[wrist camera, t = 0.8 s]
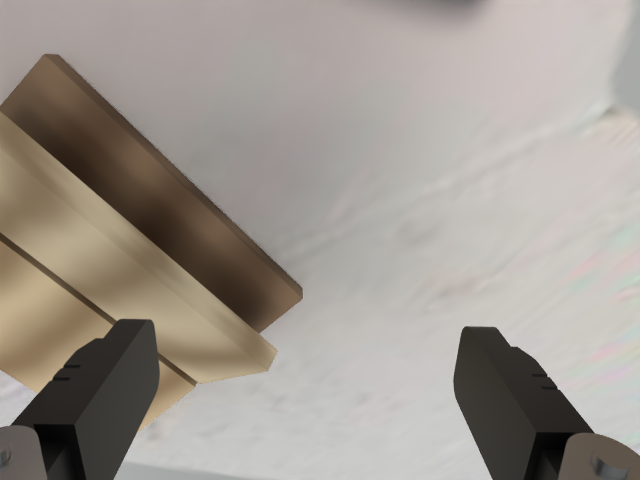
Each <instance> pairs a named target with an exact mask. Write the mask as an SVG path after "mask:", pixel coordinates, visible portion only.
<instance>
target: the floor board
mask: <svg viewBox="0 0 640 480" xmlns="http://www.w3.org/2000/svg"><path fill="white" fill-rule="evenodd" d="M0 111H1V112H2V113H3V114H4V115H5V116H7V117H8V118H9V119H10V120H11V121H12V122H14V123H15V124H16V125H17V126H18V127H19V128H21V129H22V130H23V131H24V132H25V133H26V134H27V135H29V136H30V137H31V138H32V139H33V140H34V141H36V142H37V143H38V144H39V145H40V146H41V147H43V148H44V149H45V150H46V151H47V152H48V153H49V154H51V155H52V156H53V157H54V158H55V159H56V160H58V161H59V162H60V163H61V164H62V165H63V166H65V167H66V168H67V169H68V170H69V171H70V172H72V173H73V174H74V175H75V176H76V177H77V178H78V179H80V180H81V181H82V182H83V183H84V184H85V185H87V186H88V187H89V188H90V189H91V190H92V191H94V192H95V193H96V194H97V195H98V196H99V197H101V198H102V199H103V200H104V201H105V202H106V203H107V204H109V205H110V206H111V207H112V208H113V209H114V210H116V211H117V212H118V213H119V214H120V215H121V216H123V217H124V218H125V219H126V220H127V221H128V222H130V223H131V224H132V225H133V226H134V227H135V228H136V229H138V230H139V231H140V232H141V233H142V234H143V235H145V236H146V237H147V238H148V239H149V240H150V241H152V242H153V243H154V244H155V245H156V246H157V247H158V248H160V249H161V250H162V251H163V252H164V253H165V254H167V255H168V256H169V257H170V258H171V259H172V260H174V261H175V262H176V263H177V264H178V265H179V266H181V267H182V268H183V269H184V270H185V271H186V272H187V273H189V274H190V275H191V276H192V277H193V278H194V279H196V280H197V281H198V282H199V283H200V284H201V285H203V286H204V287H205V288H206V289H207V290H208V291H210V292H211V293H212V294H213V295H214V296H215V297H216V298H218V299H219V300H220V301H221V302H222V303H223V304H225V305H226V306H227V307H228V308H229V309H230V310H232V311H233V312H234V313H235V314H236V315H237V316H239V317H240V318H241V319H242V320H243V321H244V322H245V323H247V324H248V325H249V326H250V327H251V328H252V329H254V330H255V331H256V332H257V333H258V334H259V333H260V332H261V331H263V330H264V329H265V328H266V327H268V326H269V325H270V324H271V323H273V322H274V321H275V320H276V319H278V318H279V317H280V316H282V315H283V314H284V313H285V312H287V311H288V310H289V309H290V308H292V307H293V306H294V305H295V304H297V303H298V302H299V301H300V300H302V299H303V293H302V288H301V287H300V286H299V285H298V284H297V283H296V282H295V281H294V280H293V279H292V278H291V277H290V276H289V275H288V274H287V273H286V272H284V271H283V270H282V269H281V268H280V267H279V266H278V265H277V264H276V263H275V262H274V261H273V260H272V259H271V258H270V257H269V256H268V255H267V254H266V253H265V252H264V251H263V250H261V249H260V248H259V247H258V246H257V245H256V244H255V243H254V242H253V241H252V240H251V239H250V238H249V237H248V236H247V235H246V234H245V233H244V232H243V231H242V230H241V229H240V228H239V227H237V226H236V225H235V224H234V223H233V222H232V221H231V220H230V219H229V218H228V217H227V216H226V215H225V214H224V213H223V212H222V211H221V210H220V209H219V208H218V207H217V206H216V205H214V204H213V203H212V202H211V201H210V200H209V199H208V198H207V197H206V196H205V195H204V194H203V193H202V192H201V191H200V190H199V189H198V188H197V187H196V186H195V185H194V184H193V183H192V182H190V181H189V180H188V179H187V178H186V177H185V176H184V175H183V174H182V173H181V172H180V171H179V170H178V169H177V168H176V167H175V166H174V165H173V164H172V163H171V162H170V161H169V160H167V159H166V158H165V157H164V156H163V155H162V154H161V153H160V152H159V151H158V150H157V149H156V148H155V147H154V146H153V145H152V144H151V143H150V142H149V141H148V140H147V139H146V138H144V137H143V136H142V135H141V134H140V133H139V132H138V131H137V130H136V129H135V128H134V127H133V126H132V125H131V124H130V123H129V122H128V121H127V120H126V119H125V118H124V117H123V116H122V115H120V114H119V113H118V112H117V111H116V110H115V109H114V108H113V107H112V106H111V105H110V104H109V103H108V102H107V101H106V100H105V99H104V98H103V97H102V96H101V95H100V94H99V93H97V92H96V91H95V90H94V89H93V88H92V87H91V86H90V85H89V84H88V83H87V82H86V81H85V80H84V79H83V78H82V77H81V76H80V75H79V74H78V73H77V72H76V71H74V70H73V69H72V68H71V67H70V66H69V65H68V64H67V63H66V62H65V61H64V60H63V59H62V58H61V57H60V56H59V55H53V54H44V55H43V56H42V57H41V59H40V60H39V61H38V62H37V63H36V64H35V66H34V67H33V68H32V69H31V70H30V72H29V73H28V74H27V75H26V76H25V78H24V79H23V80H22V81H21V82H20V84H19V85H18V86H17V87H16V88H15V89H14V91H13V92H12V93H11V94H10V95H9V97H8V98H7V99H6V100H5V101H4V103H3V104H2V105H1V106H0ZM116 322H117V321H116V320H115V319H114V318H112V317H111V316H110V315H109V314H107V313H106V312H105V311H103V310H102V309H101V308H99V307H98V306H97V305H95V304H94V303H93V302H91V301H90V300H89V299H87V298H86V297H85V296H84V295H82V294H81V293H80V292H78V291H77V290H76V289H74V288H73V287H72V286H70V285H69V284H68V283H66V282H65V281H64V280H62V279H61V278H60V277H58V276H57V275H56V274H55V273H53V272H52V271H51V270H49V269H48V268H47V267H45V266H44V265H43V264H41V263H40V262H39V261H37V260H36V259H35V258H33V257H32V256H31V255H30V254H28V253H27V252H26V251H24V250H23V249H22V248H20V247H19V246H18V245H16V244H15V243H14V242H12V241H11V240H10V239H8V238H7V237H6V236H4V235H3V234H2V233H1V232H0V370H2V371H3V372H5V373H6V374H8V375H10V376H11V377H13V378H14V379H16V380H17V381H19V382H20V383H22V384H24V385H25V386H27V387H28V388H30V389H31V390H33V391H34V392H36V393H39V392H40V391H41V390H42V389H43V388H44V387H45V385H46V384H47V383H48V382H49V381H52V379H53V376H54V375H55V374H56V373H57V372H58V371H59V370H60V368H63V365H64V364H65V363H66V362H67V360H68V359H69V358H70V357H71V356H72V355H73V354H74V353H75V351H76V350H78V349H79V348H81V347H83V346H84V345H86V344H87V343H89V342H90V341H92V340H94V339H95V338H104V337H105V335H106V334H107V333H108V332H109V330H110V329H111V328H112V327H113V325H114V324H115V323H116ZM158 359H159V367H160V379H159V385H158V390H157V393H156V395H155V397H154V399H153V401H152V403H151V405H150V407H149V409H148V411H147V413H146V415H145V417H144V419H143V421H142V423H141V425H140V427H139V429H138V431H137V433H138V432H139V431H140V430H142V429H143V428H144V427H145V426H147V425H148V424H149V423H150V422H152V421H153V420H154V419H155V418H157V417H158V416H159V415H160V414H162V413H163V412H164V411H165V410H167V409H168V408H169V407H171V406H172V405H173V404H174V403H176V402H177V401H178V400H179V399H181V398H182V397H183V396H184V395H186V394H187V393H188V392H189V391H191V390H192V389H193V388H194V387H195V385H196V383H197V381H195V380H194V379H193V378H191V377H190V376H189V375H188V374H186V373H185V372H184V371H182V370H181V369H180V368H178V367H177V366H176V365H174V364H173V363H172V362H170V361H169V360H168V359H166V358H165V357H164V356H163V355H161V354H160V353H159V352H158ZM137 433H136V434H137Z"/></svg>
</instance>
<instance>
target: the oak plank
mask: <svg viewBox="0 0 640 480" xmlns="http://www.w3.org/2000/svg"><path fill="white" fill-rule="evenodd" d="M0 232H1V233H2V234H3V235H4V236H6V237H7V238H8V239H10V240H11V241H12V242H14V243H15V244H16V245H18V246H19V247H20V248H22V249H23V250H24V251H26V252H27V253H28V254H30V255H31V256H32V257H33V258H35V259H36V260H37V261H39V262H40V263H41V264H43V265H44V266H45V267H47V268H48V269H49V270H51V271H52V272H53V273H55V274H56V275H57V276H58V277H60V278H61V279H62V280H64V281H65V282H66V283H68V284H69V285H70V286H72V287H73V288H74V289H76V290H77V291H78V292H80V293H81V294H82V295H84V296H85V297H86V298H87V299H89V300H90V301H91V302H93V303H94V304H95V305H97V306H98V307H99V308H101V309H102V310H103V311H105V312H106V313H107V314H109V315H110V316H111V317H112V318H114V319H115V320H116V321H118V320H119V319H151V320H152V321H153V323H154V327H155V334H156V342H157V351H158V352H159V353H160V354H161V355H163V356H164V357H165V358H166V359H168V360H169V361H170V362H172V363H173V364H174V365H176V366H177V367H178V368H180V369H181V370H182V371H184V372H185V373H186V374H188V375H189V376H190V377H191V378H193V379H194V380H195V381H197V382H198V383H199V384H203V383H208V382H213V381H218V380H224V379H229V378H234V377H239V376H245V375H250V374H255V373H260V372H266V371H268V370H269V368H270V366H271V364H272V362H273V360H274V358H275V356H276V354H277V352H278V350H277V349H276V348H274V347H273V346H272V345H271V344H270V343H269V342H267V341H266V340H265V339H264V338H263V337H262V336H261V335H259V334H258V333H257V332H256V331H255V330H254V329H252V328H251V327H250V326H249V325H248V324H247V323H245V322H244V321H243V320H242V319H241V318H240V317H239V316H237V315H236V314H235V313H234V312H233V311H232V310H230V309H229V308H228V307H227V306H226V305H225V304H223V303H222V302H221V301H220V300H219V299H218V298H216V297H215V296H214V295H213V294H212V293H211V292H210V291H208V290H207V289H206V288H205V287H204V286H203V285H201V284H200V283H199V282H198V281H197V280H196V279H194V278H193V277H192V276H191V275H190V274H189V273H187V272H186V271H185V270H184V269H183V268H182V267H181V266H179V265H178V264H177V263H176V262H175V261H174V260H172V259H171V258H170V257H169V256H168V255H167V254H165V253H164V252H163V251H162V250H161V249H160V248H158V247H157V246H156V245H155V244H154V243H153V242H152V241H150V240H149V239H148V238H147V237H146V236H145V235H143V234H142V233H141V232H140V231H139V230H138V229H136V228H135V227H134V226H133V225H132V224H131V223H130V222H128V221H127V220H126V219H125V218H124V217H123V216H121V215H120V214H119V213H118V212H117V211H116V210H114V209H113V208H112V207H111V206H110V205H109V204H107V203H106V202H105V201H104V200H103V199H102V198H101V197H99V196H98V195H97V194H96V193H95V192H94V191H92V190H91V189H90V188H89V187H88V186H87V185H85V184H84V183H83V182H82V181H81V180H80V179H78V178H77V177H76V176H75V175H74V174H73V173H72V172H70V171H69V170H68V169H67V168H66V167H65V166H63V165H62V164H61V163H60V162H59V161H58V160H56V159H55V158H54V157H53V156H52V155H51V154H49V153H48V152H47V151H46V150H45V149H44V148H43V147H41V146H40V145H39V144H38V143H37V142H36V141H34V140H33V139H32V138H31V137H30V136H29V135H27V134H26V133H25V132H24V131H23V130H22V129H21V128H19V127H18V126H17V125H16V124H15V123H14V122H12V121H11V120H10V119H9V118H8V117H7V116H5V115H4V114H3V113H2V112H1V111H0Z"/></svg>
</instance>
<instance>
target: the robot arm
mask: <svg viewBox="0 0 640 480" xmlns="http://www.w3.org/2000/svg"><path fill="white" fill-rule="evenodd" d="M159 379H160V367H159V359H158V351H157V342H156V334H155V327H154V323H153V321H152V320H151V319H119V320H118V321H117V322H116V323H115V324H114V325H113V327H112V328H111V329H110V330H109V332H108V333H107V334H106V335H105V337H104V338H95V339H94V340H92V341H90V342H89V343H87V344H86V345H84V346H83V347H81V348H79V349H78V350H76V351H75V353H74V354H73V355H72V356H71V357H70V358H69V359H68V360H67V362H66V363H65V364H64V365H63V368H60V370H59V371H58V372H57V373H56V374H55V375H54V376H53V379H52V381H49V382H48V383H47V384H46V385H45V387H44V388H43V389H42V390H41V391H40V392H39V393H38V395H37V396H36V397H35V398H34V399H33V400H32V401H31V403H30V404H29V405H28V406H27V407H26V408H25V409H24V410H23V412H22V413H21V414H20V415H19V416H18V417H17V418H16V420H15V421H14V422H13V423H12V424H11V425H10V426H5V427H1V428H0V480H113V479H114V477H115V475H116V473H117V471H118V469H119V467H120V465H121V463H122V461H123V459H124V457H125V455H126V453H127V451H128V449H129V447H130V445H131V443H132V441H133V439H134V437H135V435H136V433H137V431H138V429H139V427H140V425H141V423H142V421H143V419H144V417H145V415H146V413H147V411H148V409H149V407H150V405H151V403H152V401H153V399H154V397H155V395H156V393H157V390H158V385H159ZM454 392H455V397H456V400H457V402H458V404H459V407H460V409H461V411H462V413H463V415H464V418H465V420H466V422H467V424H468V426H469V429H470V431H471V433H472V435H473V437H474V440H475V442H476V444H477V446H478V448H479V451H480V453H481V455H482V457H483V459H484V462H485V464H486V466H487V468H488V470H489V473H490V475H491V477H492V479H493V480H640V456H639V455H638V454H637V453H636V452H634V451H633V450H632V449H630V448H629V447H627V446H625V445H624V444H622V443H620V442H618V441H616V440H614V439H612V438H609V437H606V436H603V435H599V434H595V433H594V432H593V430H592V429H591V428H590V427H589V425H588V424H587V423H586V422H585V421H584V419H583V418H582V417H581V416H580V414H579V413H578V412H577V411H576V409H575V408H574V407H573V406H572V404H571V403H570V402H569V401H568V399H567V398H566V397H565V396H564V394H563V393H562V392H561V391H560V390H558V389H557V386H556V385H555V383H554V382H553V381H552V380H551V378H550V377H547V373H546V372H545V371H544V370H543V368H542V367H541V366H540V365H539V363H538V362H537V361H536V360H535V359H534V358H532V357H531V356H530V355H528V354H527V353H525V352H524V351H522V350H521V349H520V348H518V347H511V346H510V345H509V344H508V342H507V341H506V340H505V338H504V337H503V336H502V334H501V333H500V332H499V330H498V329H497V328H495V327H471V326H466V327H464V328H463V330H462V333H461V338H460V343H459V349H458V355H457V360H456V366H455V372H454Z"/></svg>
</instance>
